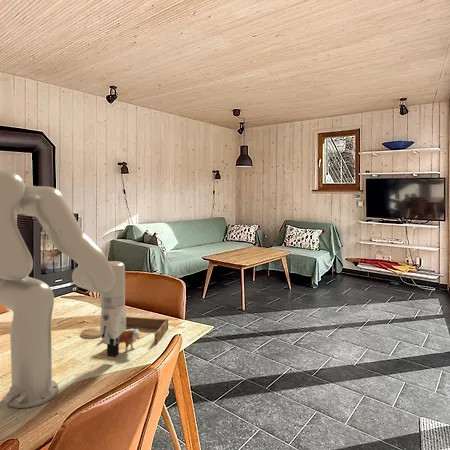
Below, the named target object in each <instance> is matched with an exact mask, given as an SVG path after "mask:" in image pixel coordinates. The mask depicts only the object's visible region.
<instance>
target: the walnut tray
mask: <svg viewBox="0 0 450 450" xmlns="http://www.w3.org/2000/svg"><path fill="white" fill-rule="evenodd" d="M126 328H133V329H134V328H135V329H151V330H152V329H153V330H157V331H156V332H155V333H154V345H155V346H157V345H158V344H159V342H161V340H162V338H163V337H164V336H165V334H166V332H168V331H169V319H167V318H166V319H164V318H163V319H162V318H151V317H135V316H126Z"/></svg>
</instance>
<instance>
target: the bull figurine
mask: <svg viewBox="0 0 450 450" xmlns="http://www.w3.org/2000/svg"><path fill="white" fill-rule="evenodd" d="M140 331H141V328H135V329H134V328H129V329H126V330H125V331H124V332H123V333H122V334H121V335H120V336H119V345H120V344H123V343H124V344H125V348H124V351H125V352H126V353H128V352H129V350H128V348H129V345H130V349H131V350H133V351H134V350H135V349H136V348H135V347H134V346H133V343H135V342H136V340H139V339H141V337H142V336H141V335H140V333H141V332H140Z"/></svg>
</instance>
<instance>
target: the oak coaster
mask: <svg viewBox="0 0 450 450" xmlns="http://www.w3.org/2000/svg"><path fill="white" fill-rule="evenodd" d="M80 333H81V334H80V336H81V337H82V338H84V339H97V338H101V334H100V327H99V326H98V327H89V328H86V329H84V330H82V331H81V332H80Z"/></svg>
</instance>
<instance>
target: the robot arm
mask: <svg viewBox="0 0 450 450" xmlns="http://www.w3.org/2000/svg"><path fill="white" fill-rule="evenodd" d="M16 213H17V214H20V215H21V214H22V215H24V216H29V217H36V219H37V220H38V222H39V224H40V225H41V227H42V228H43V230H44V232H45V233H46V235H47V237H48V238H49V240H50V242H51V243H52V245H53V246H54V247H55V248H56V249H57V250H58V251H59V252H61V253H63V254H64V255H65V256H67V257H68V258H70V259H71V260H72V261H74V262H75V263H76V264H77V266H76V267H75V269H74V270H73V272H72V274H71V279H72V282H73V284H74V285H75V286H77V287H78V288H81V289H84V290H87V291H91V292H94V293H97V294H99V295H100V296H99V298H100V300H99V301H100V303H99V304H100V305H99V306H100V307H101V309H100V310H101V312H100V327H99V328H100V334H101V337H100V338H101V339H103V344H104V345H106V347H107V349H106V355H107V357H109V358H110V357H111V358H117V357H118V356H119V354H120V353H119V352H120V351H119V350H120V349H119V347H120V344H119V336H120V335H121V334H122V333H123V332H124V331H125V330H127V327H126V317H127V311H126V310H127V309H126V305H125V304H126V267H125V263H123V262H122V261H119V260H118V261H117V260H114V261H113V260H111V261H109V260H108V258H107V257H106V255H105V254H104V252H103V251H102V250H101V249H100V247H99V246H98V245H96V243H95V242H94V241H93V240H92V239H91V238H90V237H89V236H88V235H87V234H86V233H85V232H84V231H83V228H82V227H81V225H80V224H79V222H78V220H77V218H76V217H75V216H76V215H74V212H73V211H72V209H71V207H70V205H69V203H68V201H67V200H66V199H65V197H64V195H63V194H62V192H61V191H60V190H59V189H58V188H56V187H53V186H45V185H43V186H41V185H38V186H37V185H32V184H27V183H25V182H24V180H23V178H22V177H21V176H20V175H19V174H18V173H16V172H12V171H9V170H0V305H1V306H3V307H5V308H7V309H8V310H9V311H12V312H13V316H12V321H11V326H10V338H9V339H10V373H11V385H10V387H9V390H8V391H7V392H6V394H5V395H4V396H5V397H4V398H3V399H2V400H0V407H1V408H2V409H5V408H6V407H8V406H9V407H11V408H15V409H17V408H18V409H27V408H33V407H37V406H40V405H42V404H45V403H47V402H49V401H51V400H53V398H55V396H57V394H58V392H59V384H58V383H57V382H56V381H55V380H53V379H52V378H53V377H52V376H53V374H52V373H53V371H52V369H53V367H52V366H53V365H52V318H53V317H52V316H53V310H54V306H55V305H54V304H55V295H54V294H55V293H54V291H53V290H52V288H51V287H50V285H49V284H47V283H46V282H44V281H42V280H40V279H38V278H34V277H31V276H29V275H30V274H31V273H32V271H33V267H34V260H33V257H32V254H31V252H30V250H29V248H28V246H27V245H26V242H25V240H24V238H23V237H22V234H21V232H20V230H19V228H18V225H17V222H16V216H15V215H16Z"/></svg>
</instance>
